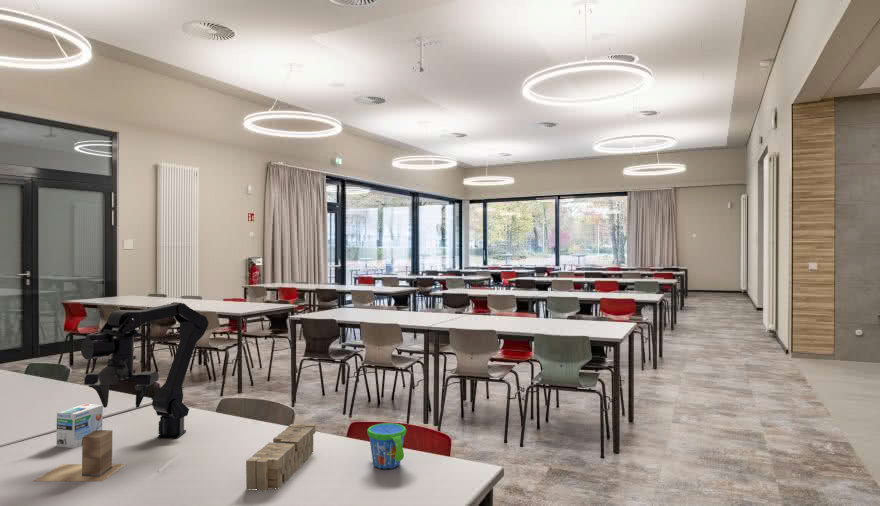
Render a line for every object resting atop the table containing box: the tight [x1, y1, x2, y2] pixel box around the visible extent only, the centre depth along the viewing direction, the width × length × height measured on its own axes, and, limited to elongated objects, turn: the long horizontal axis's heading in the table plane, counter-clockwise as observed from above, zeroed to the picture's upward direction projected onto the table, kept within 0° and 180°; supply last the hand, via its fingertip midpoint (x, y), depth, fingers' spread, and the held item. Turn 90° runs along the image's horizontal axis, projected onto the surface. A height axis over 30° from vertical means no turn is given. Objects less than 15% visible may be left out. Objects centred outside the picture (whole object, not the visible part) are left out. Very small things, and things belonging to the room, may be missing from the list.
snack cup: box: [366, 422, 407, 470], centre depth 153 cm, size 16×10×10 cm
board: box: [33, 463, 127, 482], centre depth 143 cm, size 17×11×1 cm, turn 92°
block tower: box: [245, 423, 316, 491], centre depth 150 cm, size 8×8×29 cm
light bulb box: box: [55, 403, 104, 449], centre depth 167 cm, size 11×7×11 cm, turn 168°
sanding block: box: [81, 429, 114, 476], centre depth 143 cm, size 4×6×10 cm
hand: (121, 407), depth 160 cm, fingers open, 9 cm apart
